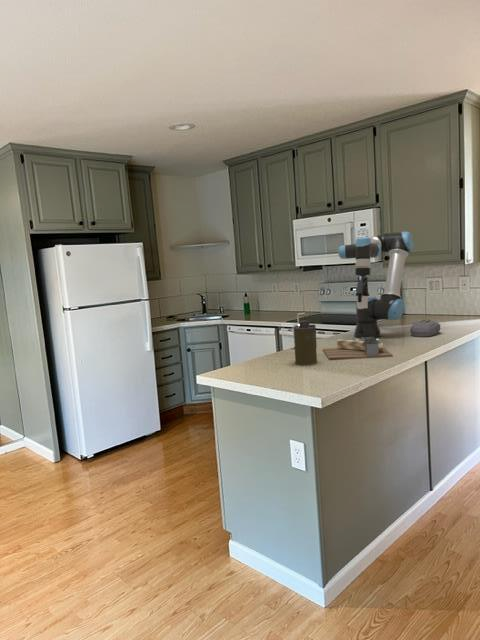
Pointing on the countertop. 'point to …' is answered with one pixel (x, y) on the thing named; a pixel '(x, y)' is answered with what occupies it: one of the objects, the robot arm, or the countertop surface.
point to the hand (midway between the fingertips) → (362, 308)
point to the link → (355, 345)
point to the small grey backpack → (425, 328)
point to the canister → (305, 343)
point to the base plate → (351, 354)
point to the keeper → (370, 346)
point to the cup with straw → (298, 321)
